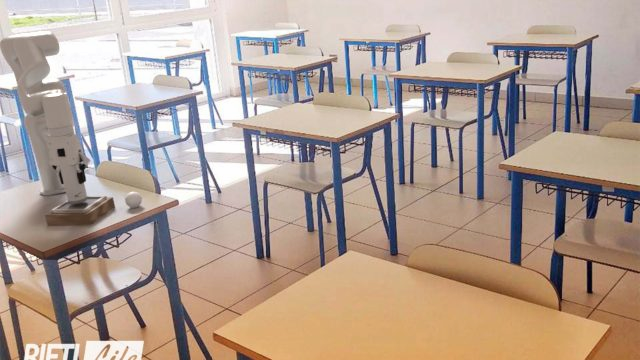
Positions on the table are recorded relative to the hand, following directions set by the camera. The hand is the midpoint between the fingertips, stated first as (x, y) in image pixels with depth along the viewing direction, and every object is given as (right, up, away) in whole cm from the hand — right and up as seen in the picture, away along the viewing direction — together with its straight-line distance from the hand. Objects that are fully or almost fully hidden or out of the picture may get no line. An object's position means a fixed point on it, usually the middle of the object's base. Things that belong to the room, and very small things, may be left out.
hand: (73, 182), depth 215 cm
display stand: (+1, -12, +4) cm, 12 cm away
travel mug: (+1, -7, +2) cm, 7 cm away
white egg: (+18, -9, +8) cm, 22 cm away
